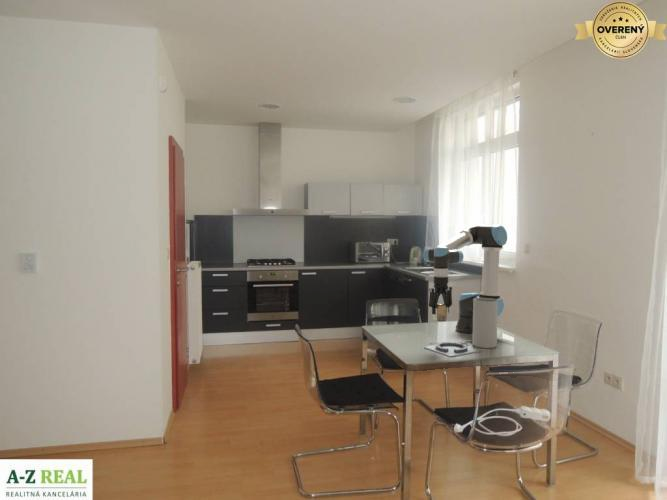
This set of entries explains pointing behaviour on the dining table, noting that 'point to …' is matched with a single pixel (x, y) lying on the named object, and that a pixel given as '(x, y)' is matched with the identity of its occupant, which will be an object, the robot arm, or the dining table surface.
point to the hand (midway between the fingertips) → (440, 319)
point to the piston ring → (440, 348)
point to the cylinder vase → (485, 322)
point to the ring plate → (451, 350)
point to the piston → (441, 312)
